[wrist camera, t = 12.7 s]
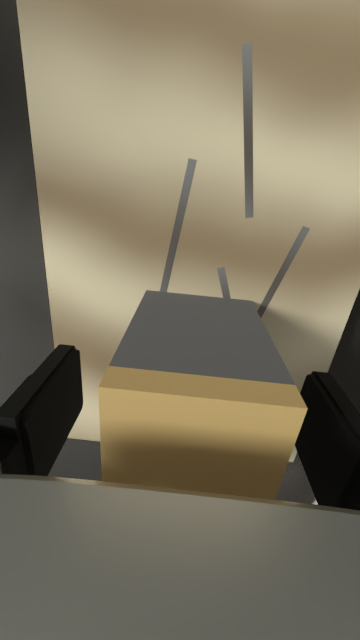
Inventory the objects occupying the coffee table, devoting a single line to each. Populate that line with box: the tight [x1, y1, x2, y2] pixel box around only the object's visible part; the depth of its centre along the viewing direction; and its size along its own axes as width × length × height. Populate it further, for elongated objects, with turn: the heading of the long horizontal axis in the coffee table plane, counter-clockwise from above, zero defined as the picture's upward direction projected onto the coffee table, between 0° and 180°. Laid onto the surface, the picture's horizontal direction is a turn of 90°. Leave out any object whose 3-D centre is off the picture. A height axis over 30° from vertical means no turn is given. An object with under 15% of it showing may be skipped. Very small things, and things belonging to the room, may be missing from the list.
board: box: [16, 0, 360, 462], centre depth 11 cm, size 24×13×2 cm, turn 175°
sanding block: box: [98, 290, 308, 500], centre depth 10 cm, size 7×4×6 cm, turn 175°
